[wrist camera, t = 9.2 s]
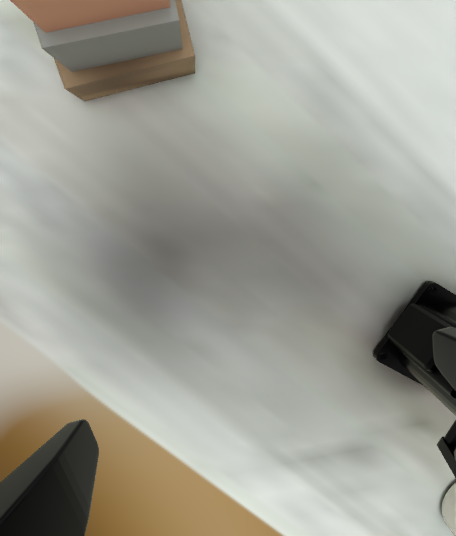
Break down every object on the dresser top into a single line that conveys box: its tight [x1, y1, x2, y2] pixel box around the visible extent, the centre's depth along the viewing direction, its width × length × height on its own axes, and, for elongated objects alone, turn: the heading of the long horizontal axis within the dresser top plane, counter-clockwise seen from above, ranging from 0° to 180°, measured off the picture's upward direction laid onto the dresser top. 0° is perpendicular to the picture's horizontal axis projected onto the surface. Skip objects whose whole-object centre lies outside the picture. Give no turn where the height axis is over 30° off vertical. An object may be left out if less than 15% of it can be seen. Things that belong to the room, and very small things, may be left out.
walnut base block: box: [54, 0, 195, 101], centre depth 15 cm, size 6×6×3 cm
